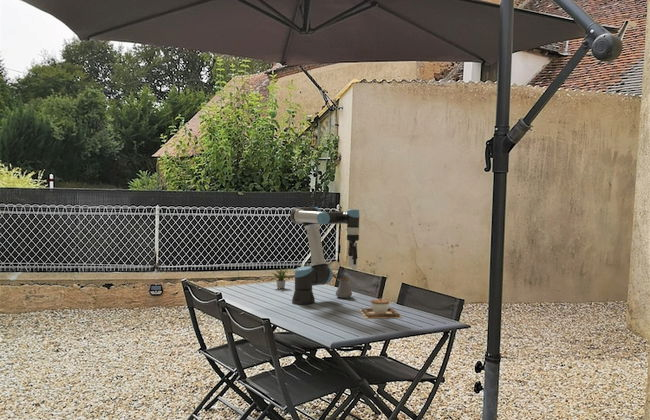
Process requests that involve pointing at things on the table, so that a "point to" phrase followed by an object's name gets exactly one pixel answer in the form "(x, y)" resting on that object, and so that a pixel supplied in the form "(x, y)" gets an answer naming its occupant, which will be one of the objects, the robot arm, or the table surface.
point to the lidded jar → (380, 306)
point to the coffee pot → (343, 288)
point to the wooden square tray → (370, 314)
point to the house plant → (280, 278)
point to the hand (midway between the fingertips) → (352, 268)
